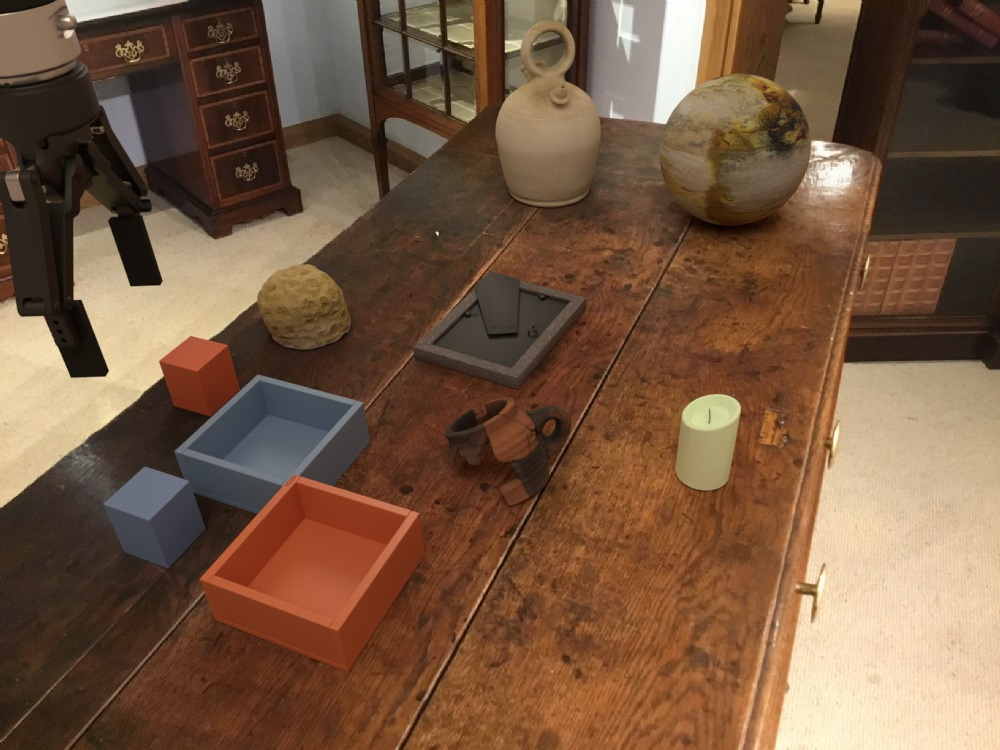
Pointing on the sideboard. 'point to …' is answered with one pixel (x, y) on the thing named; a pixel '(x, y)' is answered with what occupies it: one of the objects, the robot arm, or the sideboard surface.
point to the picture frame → (501, 330)
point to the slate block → (155, 516)
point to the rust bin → (316, 570)
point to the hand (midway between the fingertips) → (120, 326)
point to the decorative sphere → (735, 149)
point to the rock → (303, 308)
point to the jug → (548, 130)
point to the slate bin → (272, 442)
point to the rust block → (200, 375)
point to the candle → (707, 441)
